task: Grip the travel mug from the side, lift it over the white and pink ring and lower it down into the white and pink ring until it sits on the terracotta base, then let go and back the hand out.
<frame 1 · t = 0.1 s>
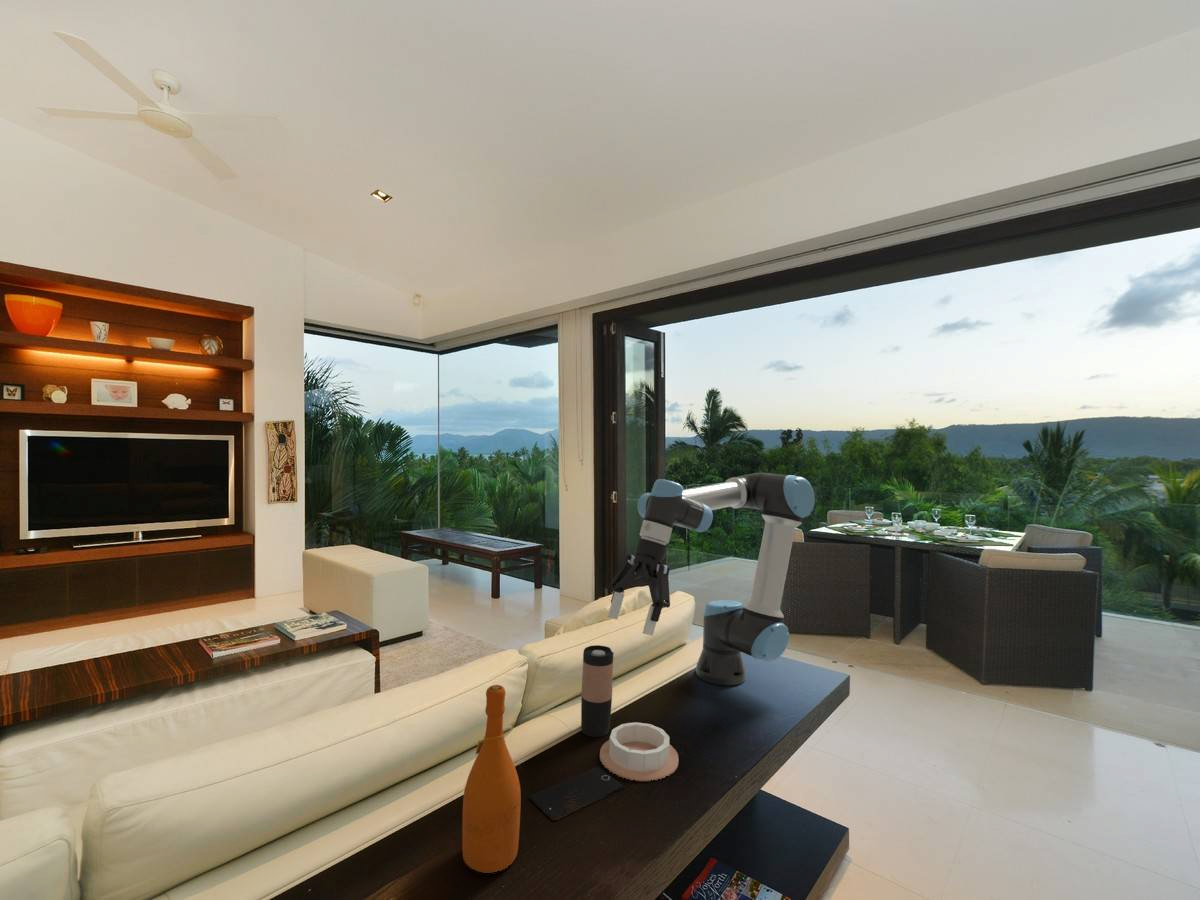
hand: (629, 626, 142), 28 cm above the table, tool tilted 20°, fingers open, 13 cm apart
cell phone: (577, 796, 120), on the table
white and pink ring: (638, 757, 134), on the table
travel mug: (595, 730, 146), on the table
wine bottle: (490, 858, 101), on the table
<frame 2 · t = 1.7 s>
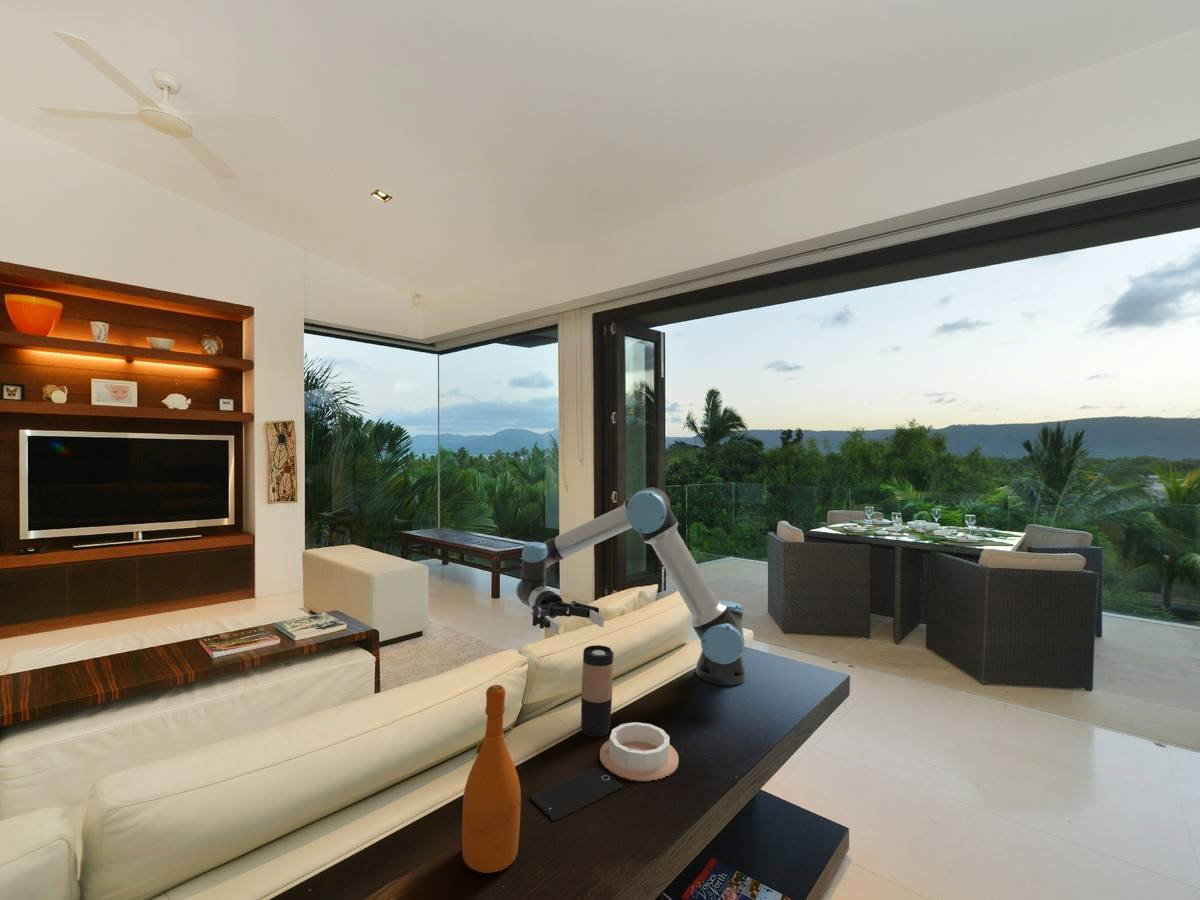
hand: (580, 625, 154), 23 cm above the table, tool horizontal, fingers open, 13 cm apart
nothing on the table moved.
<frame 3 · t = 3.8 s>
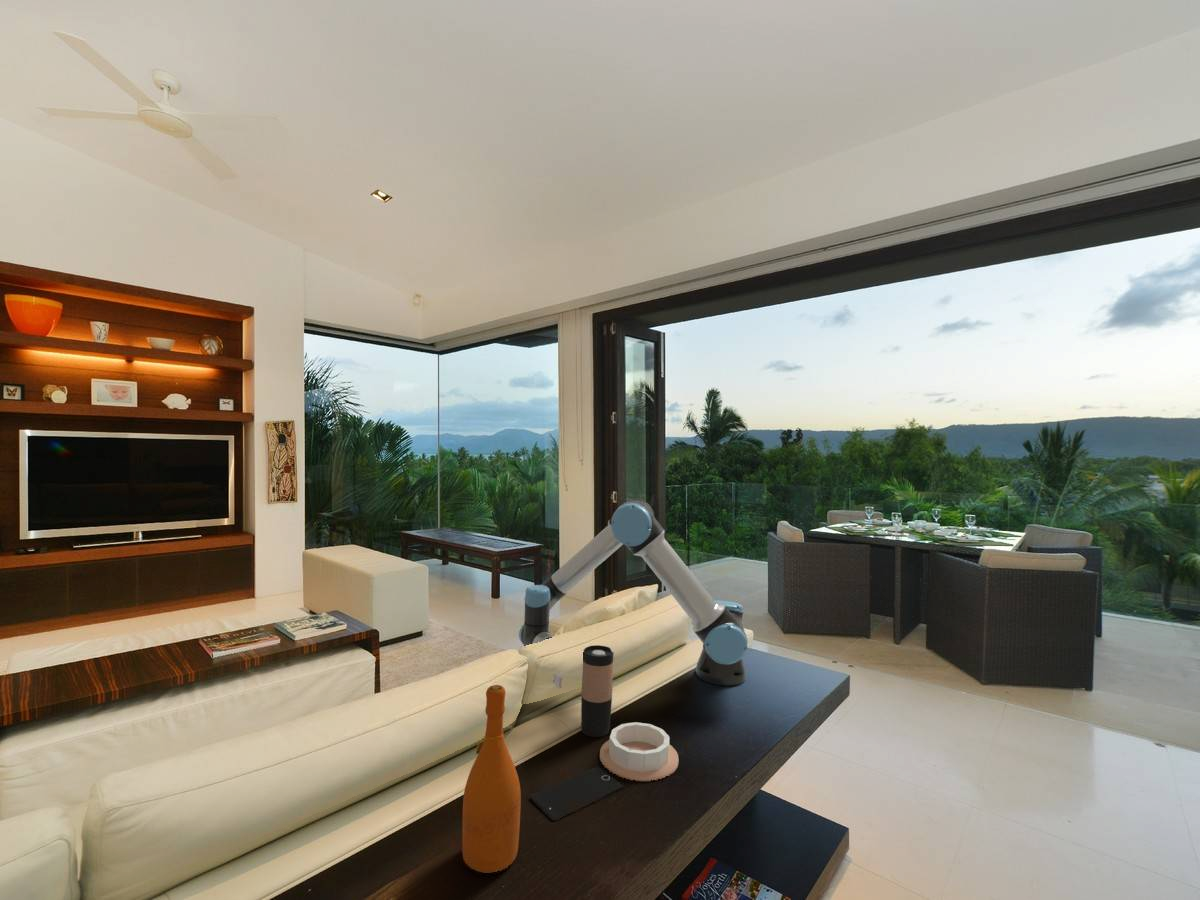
hand: (584, 677, 150), 11 cm above the table, tool horizontal, fingers open, 13 cm apart
nothing on the table moved.
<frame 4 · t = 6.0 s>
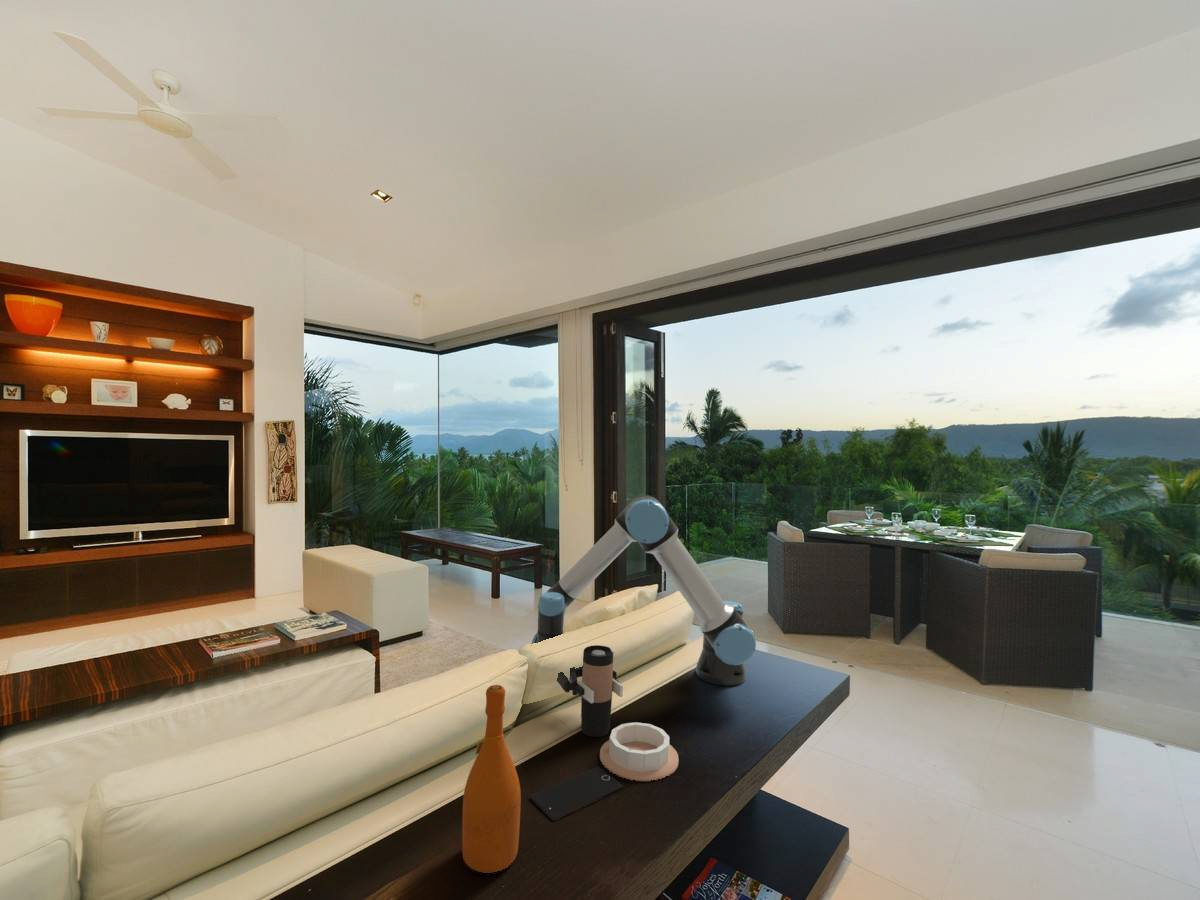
hand: (607, 694, 142), 11 cm above the table, tool horizontal, fingers closed on travel mug, 7 cm apart
travel mug: (595, 730, 146), on the table, touching gripper
everything else where it was.
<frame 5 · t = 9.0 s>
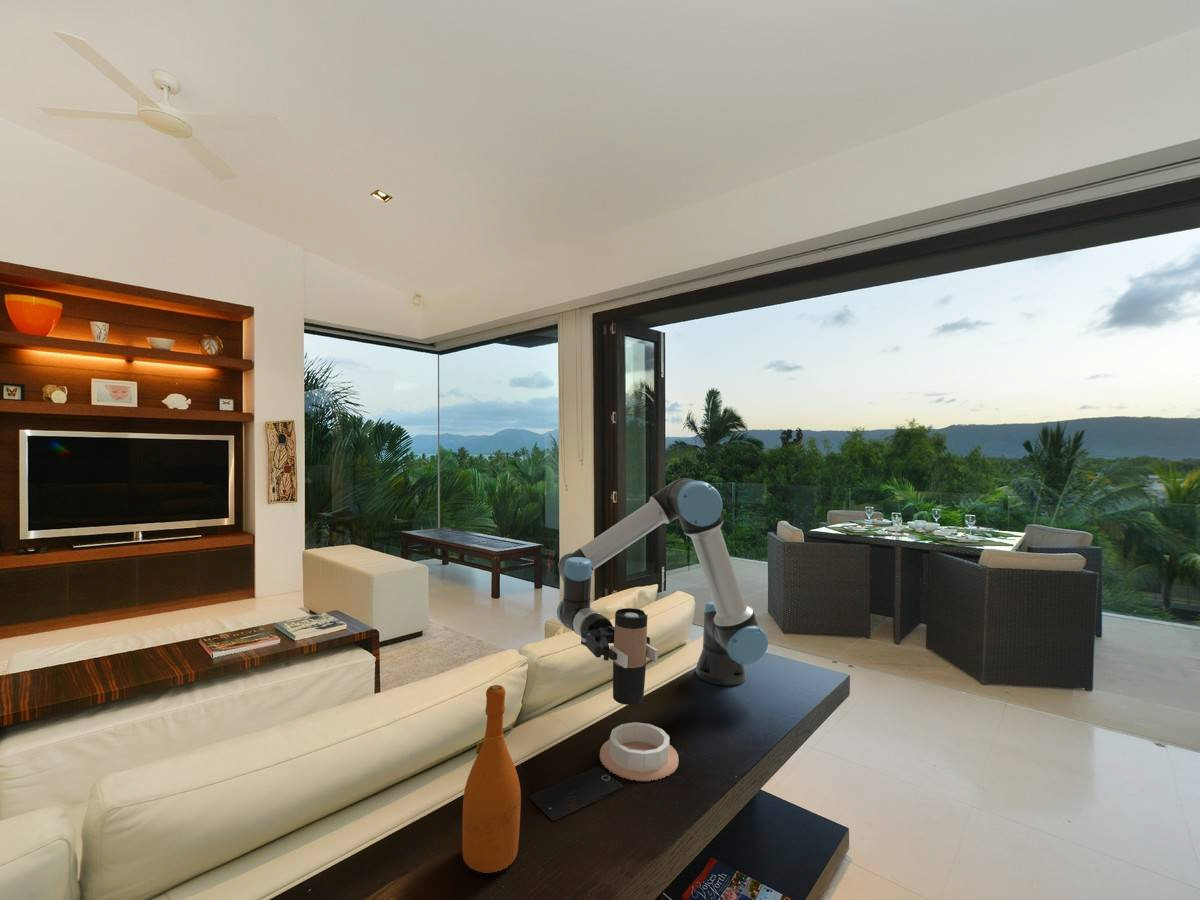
hand: (641, 658, 131), 24 cm above the table, tool horizontal, fingers closed on travel mug, 7 cm apart
travel mug: (628, 698, 136), point 13 cm above the table, touching gripper
everything else where it was.
when the fingers open (13 cm above the table, at t = 12.3 s): travel mug drops 2 cm, resting on white and pink ring.
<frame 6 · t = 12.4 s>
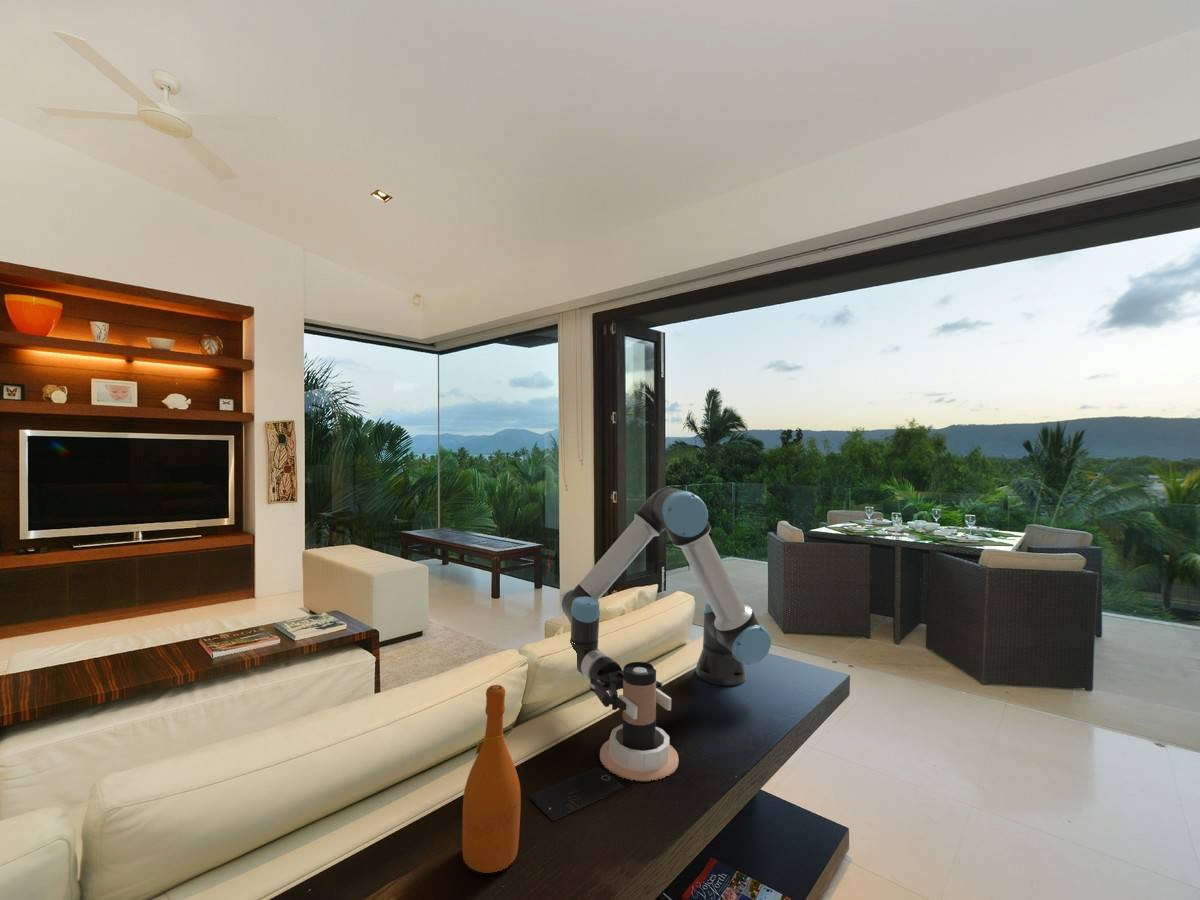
hand: (653, 708, 130), 13 cm above the table, tool horizontal, fingers open, 8 cm apart
travel mug: (638, 754, 134), point 1 cm above the table, touching gripper, white and pink ring
everything else where it was.
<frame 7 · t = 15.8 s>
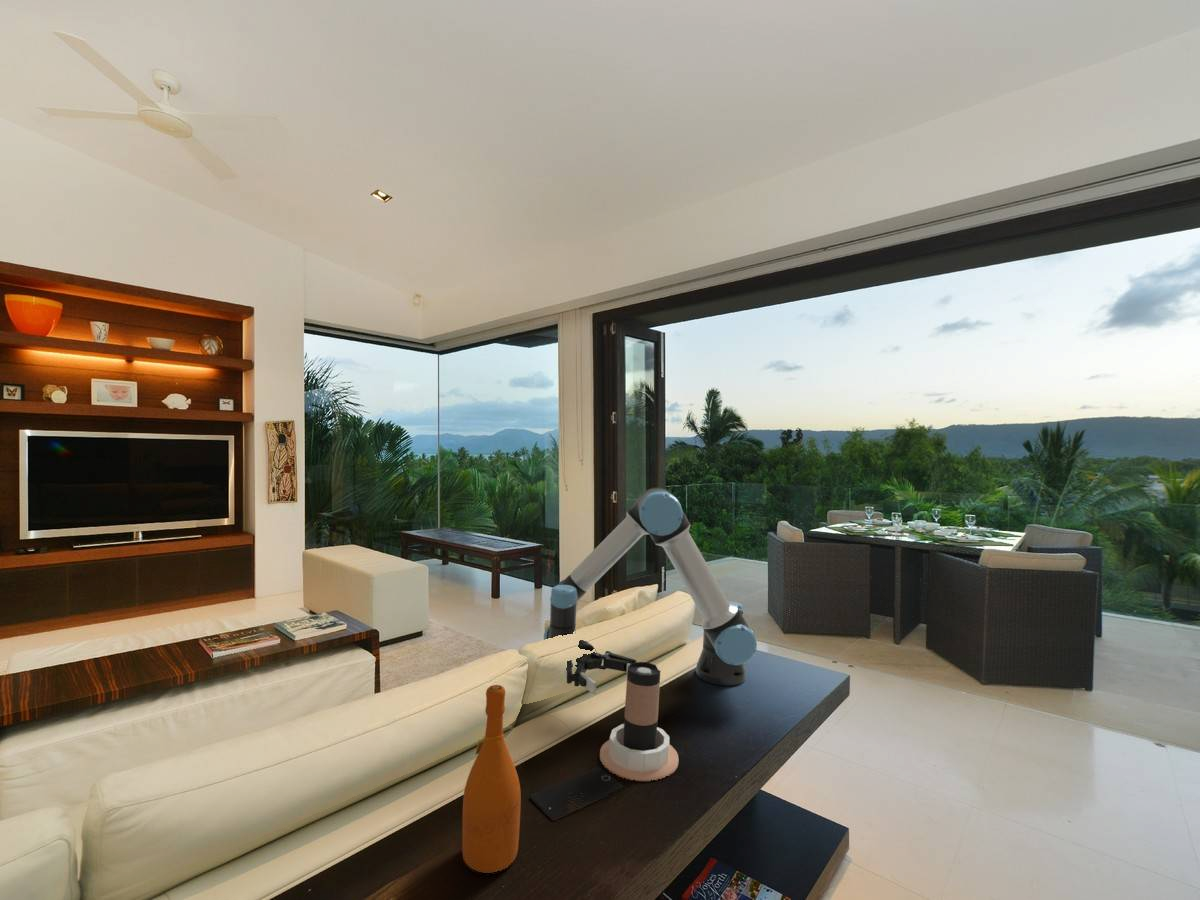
hand: (619, 683, 142), 14 cm above the table, tool horizontal, fingers open, 13 cm apart
travel mug: (638, 754, 134), point 1 cm above the table, touching white and pink ring
everything else where it was.
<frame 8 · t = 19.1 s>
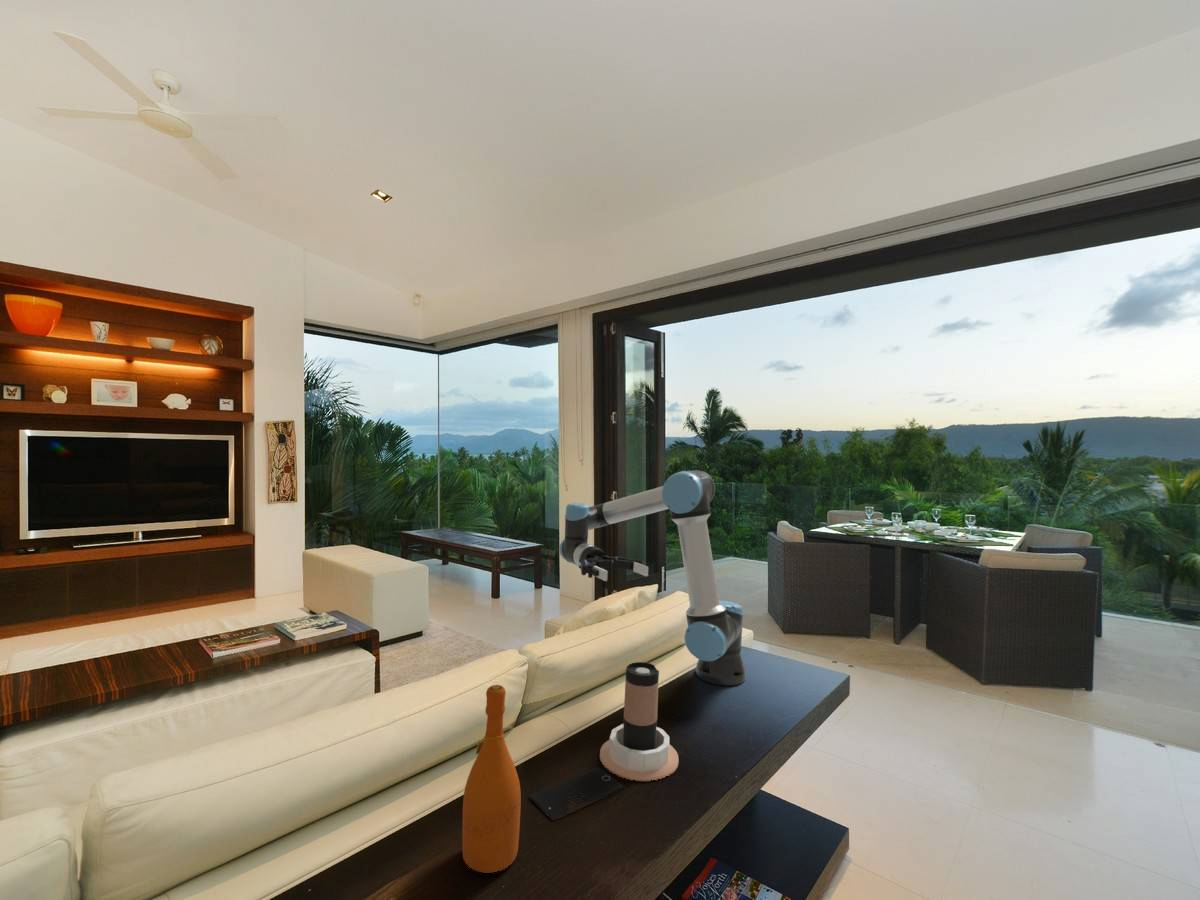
hand: (627, 573, 163), 35 cm above the table, tool horizontal, fingers open, 13 cm apart
nothing on the table moved.
at the end: travel mug 0.1 cm off-centre on the white and pink ring, point 0.7 cm above the white and pink ring's base; travel mug tilted 1°; the gripper is holding nothing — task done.
